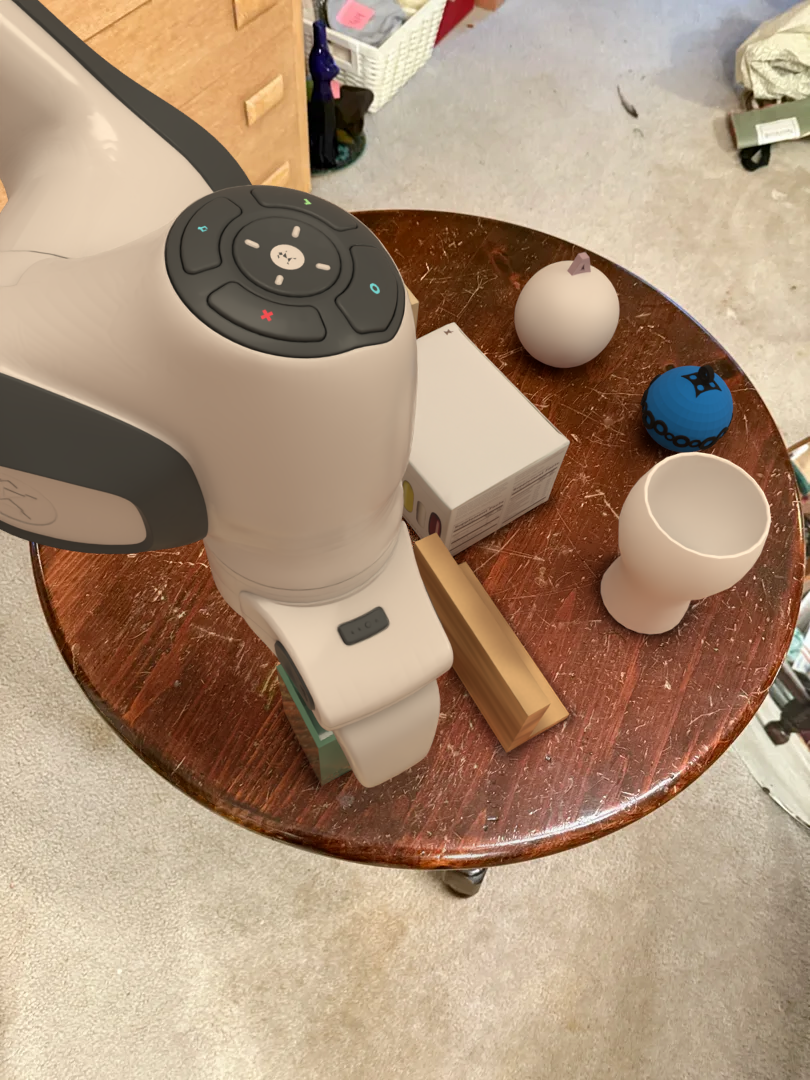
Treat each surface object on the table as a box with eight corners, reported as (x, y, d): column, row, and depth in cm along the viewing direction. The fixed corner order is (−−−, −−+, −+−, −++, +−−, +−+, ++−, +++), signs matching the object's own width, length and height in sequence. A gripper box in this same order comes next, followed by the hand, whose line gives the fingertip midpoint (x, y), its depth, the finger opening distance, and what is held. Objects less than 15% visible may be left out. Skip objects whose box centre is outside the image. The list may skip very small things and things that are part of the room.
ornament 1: (548, 302, 91) (574, 211, 81) (621, 353, 88) (657, 264, 78) (488, 348, 87) (507, 257, 77) (562, 402, 84) (593, 315, 74)
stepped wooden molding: (506, 753, 65) (528, 716, 57) (406, 594, 72) (414, 542, 64) (567, 718, 67) (596, 677, 59) (464, 566, 73) (478, 512, 66)
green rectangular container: (358, 776, 66) (256, 803, 57) (322, 707, 69) (218, 722, 60) (457, 695, 62) (363, 709, 52) (413, 625, 65) (316, 626, 55)
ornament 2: (729, 458, 82) (775, 391, 73) (655, 480, 80) (693, 414, 71) (686, 395, 86) (724, 325, 77) (614, 414, 84) (645, 344, 75)
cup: (631, 524, 77) (690, 423, 64) (724, 598, 73) (806, 507, 61) (560, 592, 73) (607, 498, 60) (655, 674, 69) (727, 593, 56)
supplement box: (336, 440, 80) (335, 374, 72) (444, 385, 84) (454, 318, 76) (439, 567, 73) (451, 510, 65) (549, 500, 78) (573, 439, 70)
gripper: (153, 399, 41) (193, 540, 53) (343, 758, 32) (340, 829, 44) (269, 358, 43) (283, 503, 55) (476, 687, 34) (439, 773, 46)
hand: (309, 651), depth 49 cm, fingers closed
